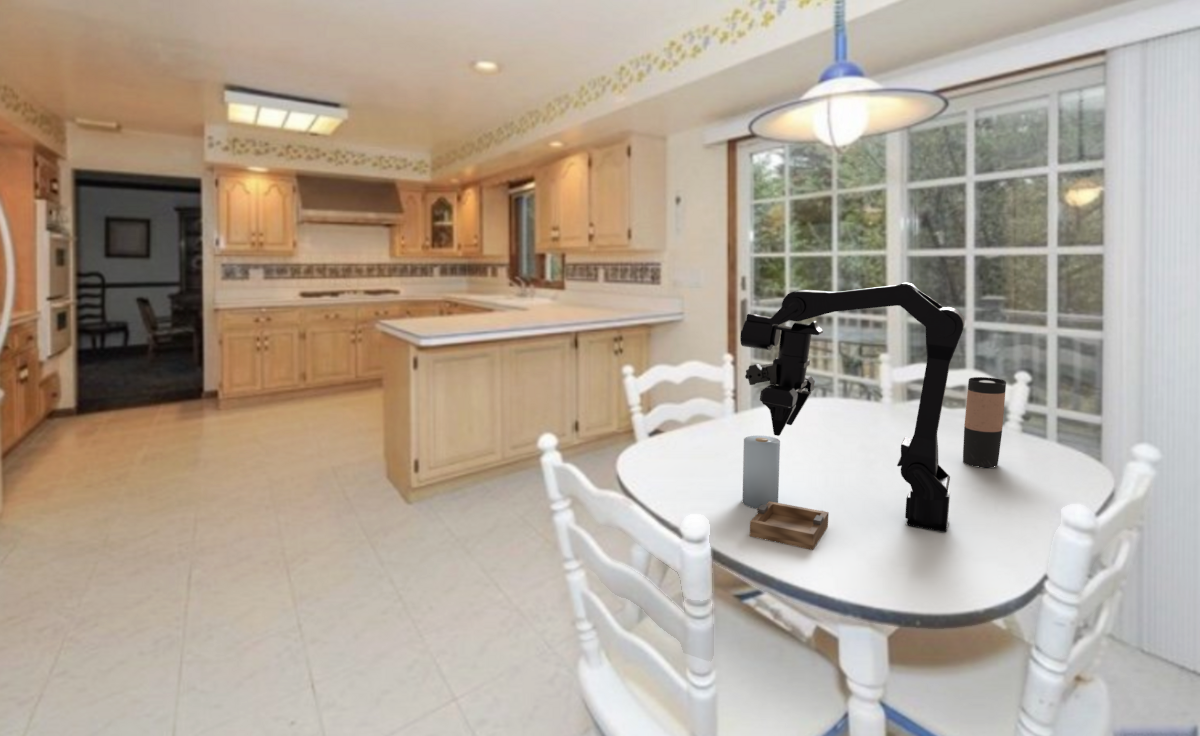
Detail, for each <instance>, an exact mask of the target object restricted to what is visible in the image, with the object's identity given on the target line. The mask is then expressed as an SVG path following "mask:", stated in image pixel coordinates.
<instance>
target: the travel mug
mask: <svg viewBox="0 0 1200 736" xmlns="http://www.w3.org/2000/svg"><path fill="white" fill-rule="evenodd" d="M967 384H968V385H967V394H966V395H967V396H966V405H965V415H964V426H963V428H964V429H963V448H962V450H963V451H962V462H963V463H964V462H965V463H966V465H967V464H969V465H968V466H970V465H973V466H972V467H974V466H979V467H978V468H980V467H994V466H997V467H998V464H999V459H1000V452H1001V451H1000V450H1001V445H1002V443H1001V442H1002V437H1003V435H1002V434H1003V427H1004V426H1003V425H1004V415H1005V414H1004V412H1005V401H1006V390H1007V381H1006V380H1005V379H1001V378H996V377H985V376H984V377H983V376H982V377H981V376H980V377H978V376H976V377H969V378H968V383H967ZM965 463H964V464H965ZM994 468H995V467H994Z"/></svg>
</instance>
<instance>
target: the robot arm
mask: <svg viewBox="0 0 1200 736" xmlns="http://www.w3.org/2000/svg"><path fill="white" fill-rule="evenodd" d="M782 299H783V300H782V302H781V308H779V310H778V311H776V312H775V313H774V314H773V316H768V315H767V316H766V315H759V314H756V313H748V314H746V318H745V321H744V323H743V326H742V329H741V331H740V345H741V346H742V347H745V348H750V349H751V348H752V349H758V350H764V351H772V349H773V347H777V346H778V352H777V357H776V358H774V359H773V361H772V363H767V364H766V363H765V364H762V365H761V364H760V363H755V364H751V365H749V366H748V369H746V370H745V373H746V374H745V376H744V378H745V379H747V380H748V384H749V386H754V385H756V384H759V383H764V382H765V383H766V382H769V385H768V386H766V387H765V388H762V390H760V393H759V394H760V395H759V401H760V402H761V403H762V404H763V405H764V406H766V407H767V409H768V410H769V413H770V419H771V425H772V430H773V431H772V432H773V435H774V436H777V437H779V436H781V433H782V432H783V430H784V429H785V427H786V425H788V426H792V425H793V424H794V422H795V420H796V419H797V417H798V415H799V414H800V412H801V410H802V409H803V408H804V405H805V404H806V402H807V400H808V399H809V398H810V396H811V394H812V391H814V389H815V382H816V381H815V379H814V378H813V377H812V376H811V375H807V371H808V370H807V368H808V366H810V364H811V360H810V359H809V356H810V347H811V340H812V335H814V336H819V335H822V334H823V333H824V330H823V329H822V328H821V326H819V325H818V322H817V320H814V321H811V322H810V323H802V322H801V321H805V320H808V319H812V318H816V317H819V316H823V315H827V314H830V313H833V312H844V311H854V310H855V311H857V310H863V309H864V310H865V309H866V310H867V309H876V308H886V307H897V306H899V307H901V308H902V309H903V310H905V311H906V312H907V313H908V314H909V315H910V316H912V318H914V319H915V321H916V320H917V322H918V323H920V324H922V325H923V326H924V327H925V348H926V349H925V350H926V364H925V365H926V366H925V371H924V377H923V382H922V389H921V393H920V399H919V404H918V405H919V406H918V410H917V416H916V421H915V428H914V433H913V436H912V438H909V437H907V436H904V437H903V440H902V442H901V445H900V458H899V459H898V462H897V464H896V466H897V467H900V475H901V477H902V479H903V480H904V481H905V482H906V483H908V484H909V485H910V492H909V493H908V494H907V495H906V499H905V500H906V502H905V516H904V518H905V520H906V525H907V526H909V527H915V528H921V529H925V530H930V531H935V532H936V531H937V532H941V533H947V531H948V527H949V524H950V523H949V522H950V518H949V512H950V511H949V510H950V509H949V508H950V499H951V491H949V486H950V481H951V476H950V475H949V474H948V473H947V472H946V470H944V469H943V468H942V467H941V465H939V442H938V441H939V440H938V431H939V425H940V419H941V414H942V409H943V404H944V398H945V393H946V387H947V382H948V377H949V376H948V375H949V371H950V365H951V361H952V358H953V356H954V353H955V351H956V349H957V346H958V343H959V341H960V339H961V336H962V334H963V330H964V327H965V325H966V324H965V323H966V321H965V317H964V315H963V313H961V311H959V310H958V309H956V308H955V307H954V308H953V307H950V306H947V307H945V306H943V305H941V304H940V303H939V302H937V301H936V300H935V299H933V298H932V297H930V296H928V295H927V294H925V292H922V291H921V290H920V289H918V287H917V286H916V285H914V283H910V282H902V283H900V284H893V285H886V286H885V285H883V286H876V287H867V288H859V289H851V290H849V289H848V290H841V291H826V290H819V289H818V290H813V289H800V290H796V291H792V292H788V294H786V295H785V297H784V298H782ZM790 321H791V322H794V323H793V324H792V326H790V325H789V326H788V325H787V326H786V325H783V324H785V323H788V322H790ZM799 322H801V323H799ZM805 389H807V390H805Z"/></svg>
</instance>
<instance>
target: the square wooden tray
mask: <svg viewBox="0 0 1200 736" xmlns="http://www.w3.org/2000/svg"><path fill="white" fill-rule="evenodd" d="M756 512H757V513H756V514H755V516H754V517H753V518H751V520H750V521H749V537H751V536H752V538H757V539H760V538H761V539H760V540H765V539H766V540H765V541H769V540H770V542H774V541H776V542H775V543H779V542H780V543H779V544H783V543H784V545H788V546H792V547H793V546H794V547H797V548H802V549H806V550H811V551H813V550H814V549H815V547H816V546H817V544H818V542H819V541H820V539H821V538H822V537H823V535H824V534H825V532H826V530H827V529H828V527H829V512H828V511H825V510H824V511H823V510H819V509H812V508H808V507H802V506H797V505H793V504H792V505H791V504H787V503H781V502H778V503H776V502H771V501H769V502H768V503H767V504H766V505H761V506H760V507H759V508H758V509H757V511H756Z"/></svg>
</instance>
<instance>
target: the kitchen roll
mask: <svg viewBox="0 0 1200 736" xmlns="http://www.w3.org/2000/svg"><path fill="white" fill-rule="evenodd" d="M780 451H781V441H780V439H779V438H778V437H774V436H770V435H750V436H746V437H744V438H743V461H742V463H743V464H742V501H743V502H742V503H744V504H743V505H744V506H746V505H747V507H748V506H750V507H749V508H752V507H753V509H756V508H759V507H760V506H761V505H766V504H767V503H768V502H769V501H771V502H776V503H779V487H780V486H779V484H780V457H781V456H780Z"/></svg>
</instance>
